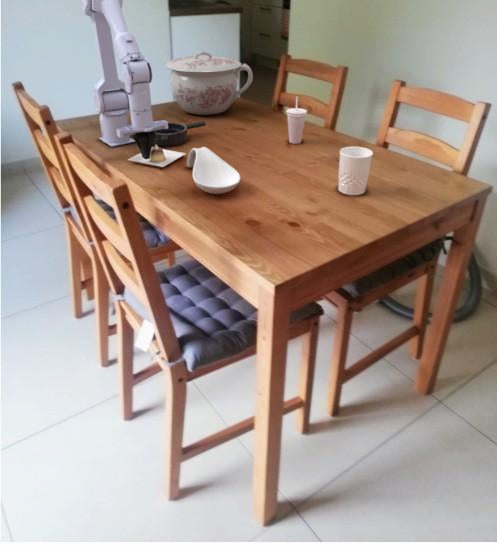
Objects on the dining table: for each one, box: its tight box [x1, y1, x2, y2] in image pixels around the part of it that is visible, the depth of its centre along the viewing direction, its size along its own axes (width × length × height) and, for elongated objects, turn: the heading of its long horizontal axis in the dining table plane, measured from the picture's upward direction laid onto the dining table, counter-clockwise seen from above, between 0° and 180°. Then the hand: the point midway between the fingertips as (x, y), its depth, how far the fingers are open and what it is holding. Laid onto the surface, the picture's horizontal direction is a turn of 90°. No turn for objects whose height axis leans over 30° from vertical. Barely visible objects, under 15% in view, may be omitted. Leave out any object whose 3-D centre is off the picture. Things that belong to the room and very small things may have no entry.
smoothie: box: [286, 95, 308, 145], centre depth 153 cm, size 6×6×14 cm
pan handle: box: [184, 120, 206, 130], centre depth 160 cm, size 2×8×2 cm, turn 127°
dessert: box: [127, 145, 187, 169], centre depth 141 cm, size 12×12×5 cm
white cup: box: [337, 146, 374, 196], centre depth 122 cm, size 8×8×10 cm
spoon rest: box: [186, 146, 241, 195], centre depth 127 cm, size 24×12×7 cm, turn 24°
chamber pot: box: [164, 50, 254, 116], centre depth 181 cm, size 28×28×21 cm
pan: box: [153, 122, 188, 147], centre depth 156 cm, size 12×12×4 cm
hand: (146, 158), depth 139 cm, fingers closed
